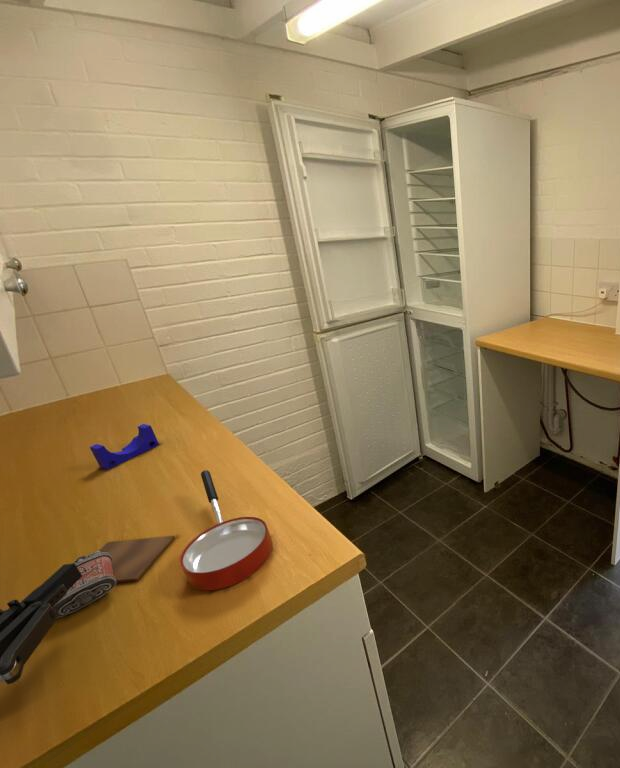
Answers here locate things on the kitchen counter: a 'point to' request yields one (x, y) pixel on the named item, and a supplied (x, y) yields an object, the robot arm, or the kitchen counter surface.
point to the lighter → (88, 583)
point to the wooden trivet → (135, 556)
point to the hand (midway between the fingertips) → (73, 570)
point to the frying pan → (225, 548)
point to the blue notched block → (126, 448)
